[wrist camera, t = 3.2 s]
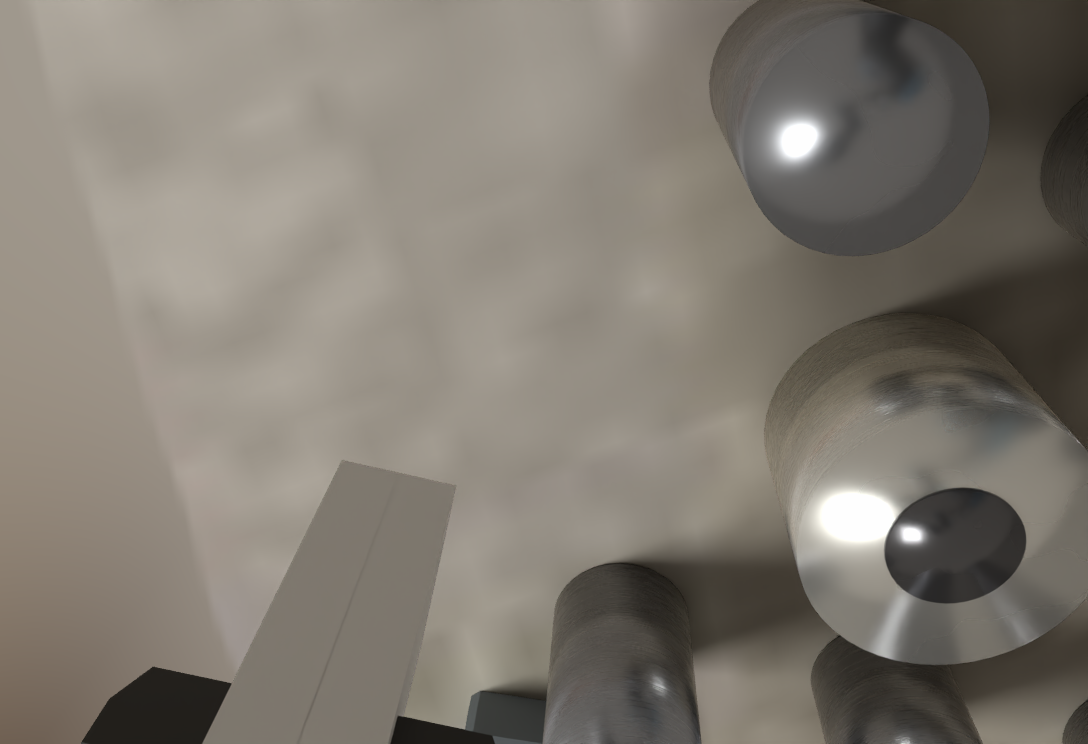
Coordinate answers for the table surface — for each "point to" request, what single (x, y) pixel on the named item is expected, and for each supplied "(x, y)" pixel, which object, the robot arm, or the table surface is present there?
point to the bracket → (507, 718)
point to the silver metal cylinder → (927, 492)
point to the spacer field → (834, 228)
